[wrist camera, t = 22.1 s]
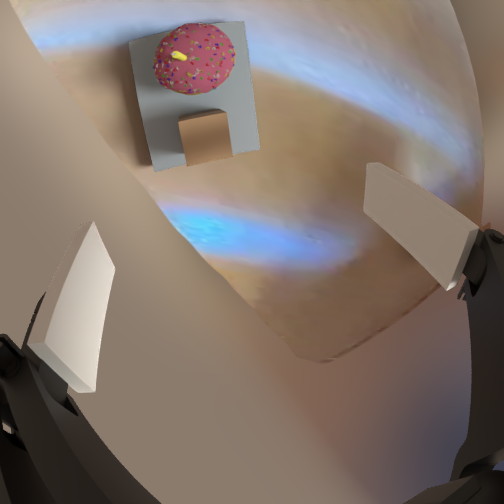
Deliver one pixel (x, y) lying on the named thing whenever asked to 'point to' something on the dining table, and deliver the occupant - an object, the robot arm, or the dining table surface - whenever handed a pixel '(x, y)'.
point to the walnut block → (205, 136)
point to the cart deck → (193, 100)
